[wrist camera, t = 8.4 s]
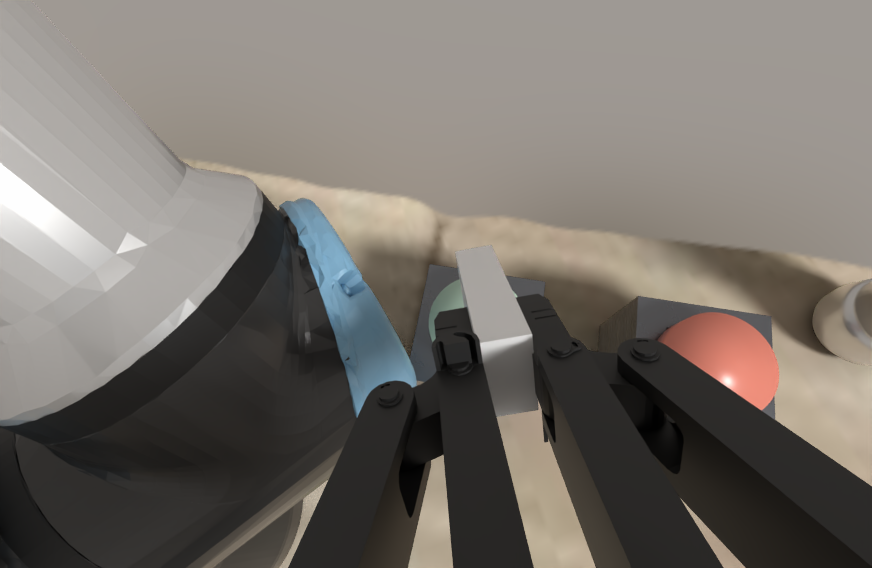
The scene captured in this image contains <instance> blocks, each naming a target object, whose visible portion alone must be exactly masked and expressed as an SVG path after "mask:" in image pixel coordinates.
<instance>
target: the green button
mask: <svg viewBox="0 0 872 568" xmlns="http://www.w3.org/2000/svg"><path fill="white" fill-rule="evenodd" d="M512 291H513V290H512ZM513 293H514V292H513ZM514 295H515V297H518V296H517V295H516V294H515V293H514ZM458 308H464V303H463V297H462V291H461V285H460V279H459V280H456V281H454V282H453V283H451V284H449V285H448V286H447V287H445V288H444V289H443V290H442V291H441V292H440V293H439V295H438V296H437V297H436V299H435V301H434V302H433V305H432V307H431V310H430V314H429V332H430V336H431V339H432V342H433V341H434V340H435V339H436V336H435V325H434V320H435V318H436V316H437V315H438V313H439V312H441V311H447V310H453V309H458Z"/></svg>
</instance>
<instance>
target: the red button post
mask: <svg viewBox="0 0 872 568" xmlns="http://www.w3.org/2000/svg"><path fill="white" fill-rule="evenodd" d="M707 312H716V313H724V314H728V315H731V316H734V317H737V318H739V319H741V320H743V321H745V322H747V323H748V324H750V325H751V326H753V327H754V328H755V329H756V330H757V331H758V332H760V333H761V334H762V336H763V337H764V338H765V339H766V340H767V342H768V343H769V345H770V346H771V348H772V323H771V316H766V315H759V314H752V313H746V312H739V311H733V310H726V309H720V308H713V307H707V306H700V305H694V304H687V303H681V302H674V301H667V300H661V299H654V298H648V297H641V296H638V297H636V298H635V299H634V300H632V301H631V302H630V303H629V304H627V305H626V306H625V307H623V308H622V309H621V310H620V311H618V312H617V313H616V314H614V315H613V316H612V317H611V318H609V319H608V320H607V321H605V322H604V323H603V324H602V325H600V332H599V344H598V352H604V353H617V349H618V347H619V346H620V344H621V343H623V342H624V341H626V340H629V339H634V338H648V339H652V340H658V339H659V337H660V336H661V335H662V334H663V332H665V331H666V330H667V329H668V328H670V327H671V326H673V325H675V324H677V323H679V322H681V321H683V320H685V319H687V318H689V317H691V316H694V315H697V314H700V313H707ZM761 411H763V412H764V413H766V414H767V415H769V416H770V417H772V418H773V419H774V420H775V403H774V397H773V399H772V400H771V401H770V403H769V404H768V405H767V406H766V407H765V408H764V409H763V410H761Z"/></svg>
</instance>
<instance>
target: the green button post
mask: <svg viewBox="0 0 872 568" xmlns="http://www.w3.org/2000/svg"><path fill="white" fill-rule="evenodd" d="M506 278H507V280H508V282H509V285H510V287H511V289H512V290H513V292H514V293H515V294H516V295H517V296H518V297H521V296H527V295H533V294H540V295H541V296H543V297H544V289H545V282H543V281H537V280H530V279H524V278H517V277H511V276H506ZM456 280H459V272H458V268H452V267H445V266H439V265H432V264H430V266H429V270H428V275H427V280H426V285H425V289H424V294H423V299H422V303H421V308H420V313H419V318H418V322H417V327H416V332H415V337H414V341H413V346H412V351H411V356H410V361H411V363H412V366H413V368H414V371H415V375H416V381H417V385H420V384H422V383H424V382H426V381H427V380H428V379H430V378H431V377H432V376H433V375H434V374H435V372H436V366H435V362H434V357H433V352H432V348H431V347H432V343H433V342H432V339H431V336H430V332H429V314H430V310H431V307H432V305H433V302H434V301H435V299H436V297H437V296H438V295H439V293H440V292H441V291H442V290H443V289H444V288H445V287H447V286H448V285H449V284H451V283H453V282H454V281H456Z"/></svg>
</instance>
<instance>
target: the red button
mask: <svg viewBox="0 0 872 568" xmlns="http://www.w3.org/2000/svg"><path fill="white" fill-rule="evenodd" d="M657 341H659V342H661V343H663V344H665V345H667V346H668V347H670V348H671V349H673V350H674V351H676V352H677V353H678V354H680V355H681V356H683V357H684V358H686V359H687V360H689V361H690V362H692V363H693V364H694V365H696V366H697V367H699V368H700V369H702V370H703V371H705V372H706V373H708V374H709V375H710V376H712V377H713V378H715V379H716V380H718V381H719V382H721V383H722V384H724V385H725V386H726V387H728V388H729V389H731V390H732V391H734V392H735V393H737V394H738V395H740V396H741V397H742V398H744V399H745V400H747V401H748V402H750V403H751V404H753V405H754V406H756V407H757V408H758V409H760V410H763V409H764V408H765V407H766V406H767V405H768V404H769V403H770V401H771V400H772V399H773V397H774V395H775V393H776V390H777V387H778V382H779V368H778V363H777V359H776V357H775V354H774V352H773V350H772V348H771V346H770V345H769V343H768V342H767V340H766V339H765V338H764V337H763V336H762V334H761V333H760V332H758V331H757V330H756V329H755V328H754V327H753V326H751V325H750V324H748V323H747V322H745V321H743V320H741V319H739V318H737V317H734V316H731V315H728V314H724V313H716V312H707V313H700V314H697V315H694V316H691V317H689V318H687V319H685V320H683V321H681V322H679V323H677V324H675V325H673V326H671V327H670V328H668V329H667V330H666V331H665V332H663V334H662V335H661V336H660V337H659V339H658V340H657Z"/></svg>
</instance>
